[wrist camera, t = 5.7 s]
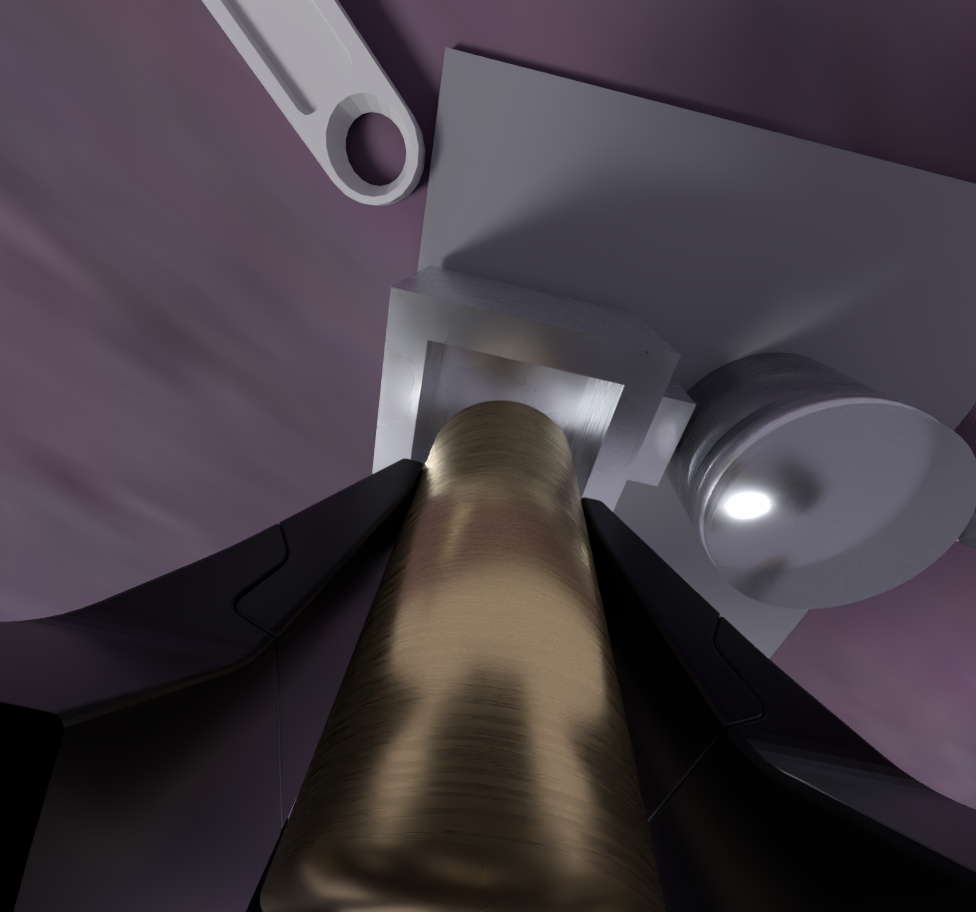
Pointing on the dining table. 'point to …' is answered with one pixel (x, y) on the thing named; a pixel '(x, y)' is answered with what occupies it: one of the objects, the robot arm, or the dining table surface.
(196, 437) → the dining table surface
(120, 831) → the robot arm
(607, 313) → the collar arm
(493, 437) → the brass rounded cylinder
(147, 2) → the dining table surface
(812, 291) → the mat
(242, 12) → the adjustable wrench
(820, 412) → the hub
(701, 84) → the dining table surface
